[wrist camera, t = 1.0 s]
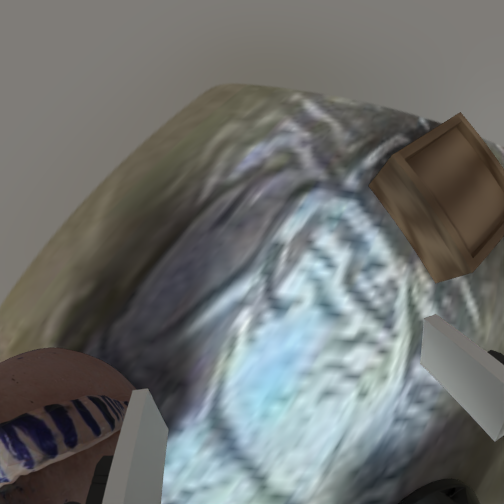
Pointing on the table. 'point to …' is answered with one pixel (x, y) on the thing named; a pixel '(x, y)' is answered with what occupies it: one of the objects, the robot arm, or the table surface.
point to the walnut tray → (446, 198)
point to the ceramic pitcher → (57, 424)
